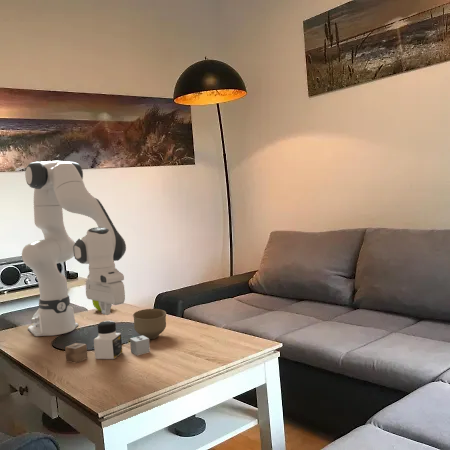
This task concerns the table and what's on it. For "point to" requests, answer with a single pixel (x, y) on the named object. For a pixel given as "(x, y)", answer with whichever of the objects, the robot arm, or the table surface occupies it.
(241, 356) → the table surface
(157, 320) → the bowl
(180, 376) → the table surface
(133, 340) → the grey painted block
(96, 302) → the fruit
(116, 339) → the medicine bottle
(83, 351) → the walnut block
